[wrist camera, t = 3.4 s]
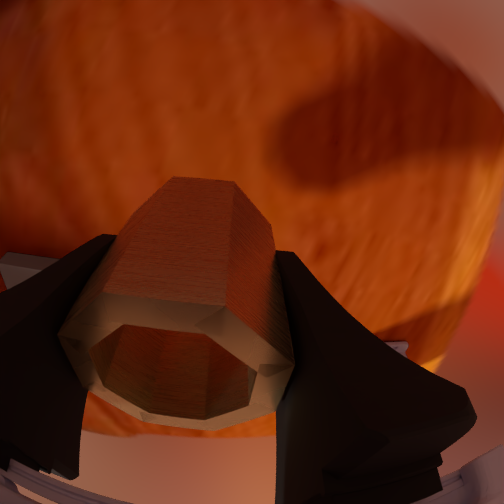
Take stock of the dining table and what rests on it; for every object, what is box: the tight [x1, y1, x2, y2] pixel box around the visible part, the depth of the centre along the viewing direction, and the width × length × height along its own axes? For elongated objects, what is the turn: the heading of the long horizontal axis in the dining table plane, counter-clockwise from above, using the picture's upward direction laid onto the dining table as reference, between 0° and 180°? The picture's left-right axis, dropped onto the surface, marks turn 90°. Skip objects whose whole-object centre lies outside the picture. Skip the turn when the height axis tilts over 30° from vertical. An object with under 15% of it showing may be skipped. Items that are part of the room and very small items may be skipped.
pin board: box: [0, 252, 60, 290], centre depth 18 cm, size 16×11×6 cm
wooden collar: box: [57, 176, 295, 431], centre depth 8 cm, size 5×5×6 cm
